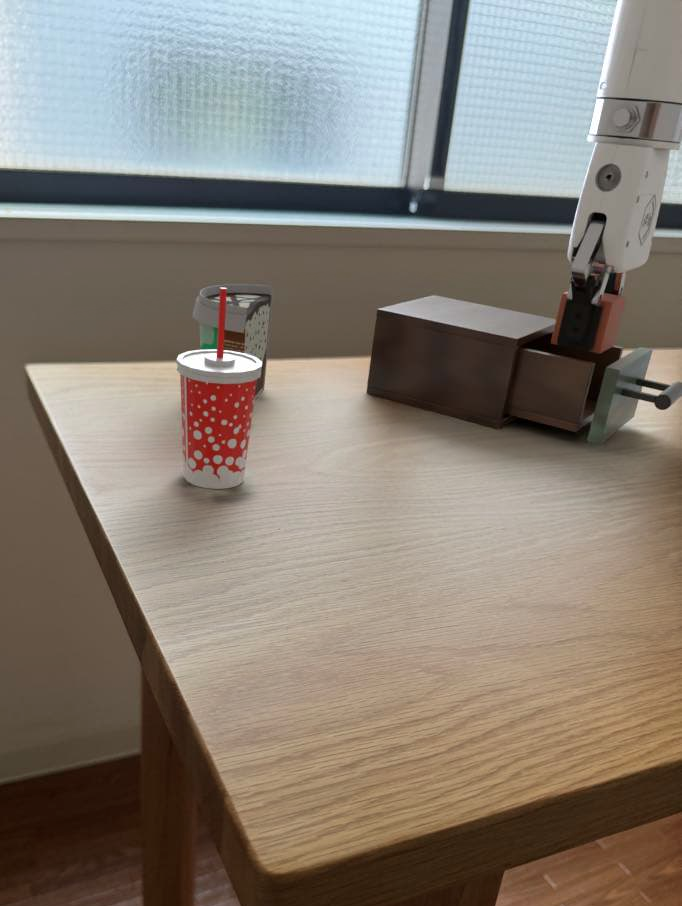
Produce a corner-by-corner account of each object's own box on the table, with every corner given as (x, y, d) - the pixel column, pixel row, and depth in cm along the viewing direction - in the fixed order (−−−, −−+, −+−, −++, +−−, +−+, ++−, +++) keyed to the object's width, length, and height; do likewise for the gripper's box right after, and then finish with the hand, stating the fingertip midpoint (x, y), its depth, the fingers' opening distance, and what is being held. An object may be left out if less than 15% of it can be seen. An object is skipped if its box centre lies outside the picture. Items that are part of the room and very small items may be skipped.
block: (613, 346, 80) (627, 296, 78) (599, 354, 77) (612, 302, 75) (566, 336, 82) (577, 287, 80) (550, 343, 79) (561, 293, 77)
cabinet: (544, 402, 90) (563, 320, 86) (498, 429, 80) (517, 338, 77) (421, 371, 97) (433, 295, 93) (365, 393, 88) (377, 308, 84)
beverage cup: (269, 485, 64) (284, 295, 58) (196, 498, 61) (204, 298, 54) (229, 457, 68) (239, 278, 62) (159, 468, 65) (163, 280, 59)
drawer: (679, 428, 82) (700, 359, 79) (649, 457, 74) (672, 381, 71) (505, 385, 91) (519, 322, 88) (461, 407, 83) (474, 338, 80)
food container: (209, 377, 88) (214, 278, 84) (267, 385, 87) (274, 285, 83) (172, 411, 77) (175, 300, 73) (238, 421, 76) (245, 308, 72)
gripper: (658, 126, 63) (596, 367, 71) (704, 135, 76) (647, 338, 84) (559, 118, 67) (511, 348, 75) (619, 127, 80) (572, 323, 88)
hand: (583, 341), depth 79 cm, fingers closed on block, 4 cm apart
